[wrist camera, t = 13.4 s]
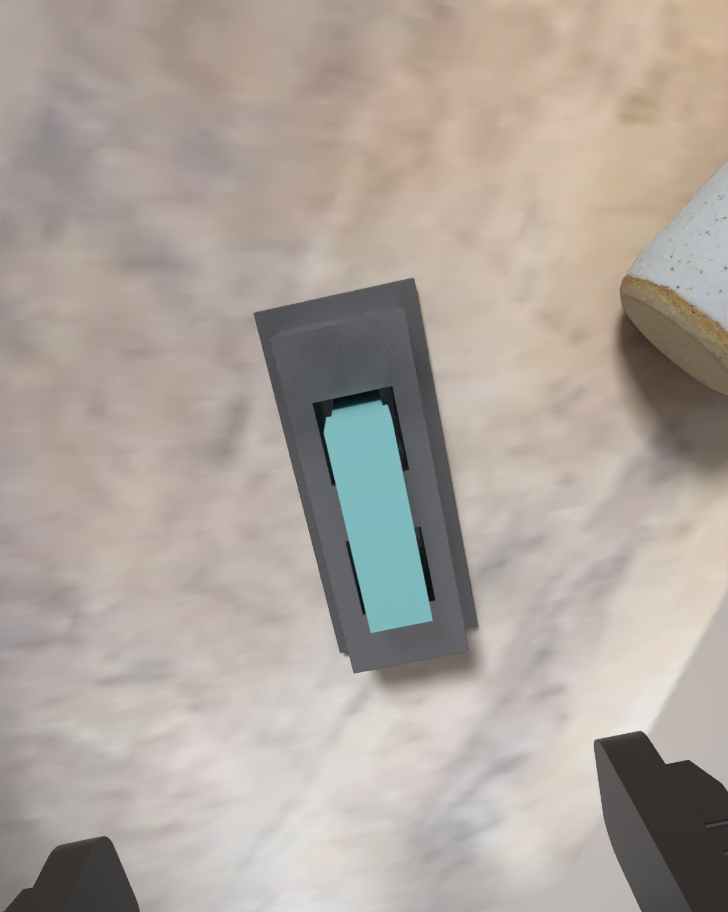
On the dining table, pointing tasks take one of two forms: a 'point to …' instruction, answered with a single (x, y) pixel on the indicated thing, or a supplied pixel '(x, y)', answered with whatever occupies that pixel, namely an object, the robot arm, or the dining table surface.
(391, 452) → the clip
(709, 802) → the robot arm
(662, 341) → the ceramic mug
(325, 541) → the grey hollow block
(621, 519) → the dining table surface
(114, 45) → the dining table surface
